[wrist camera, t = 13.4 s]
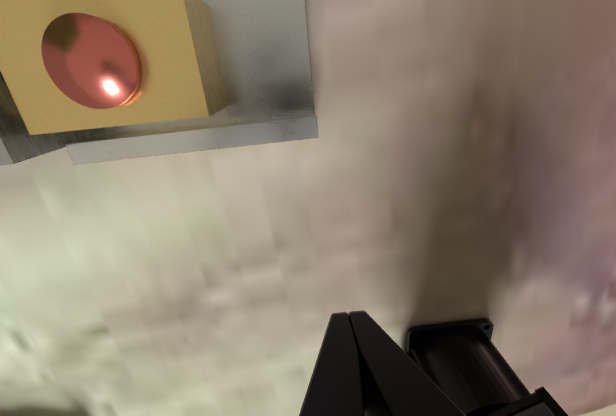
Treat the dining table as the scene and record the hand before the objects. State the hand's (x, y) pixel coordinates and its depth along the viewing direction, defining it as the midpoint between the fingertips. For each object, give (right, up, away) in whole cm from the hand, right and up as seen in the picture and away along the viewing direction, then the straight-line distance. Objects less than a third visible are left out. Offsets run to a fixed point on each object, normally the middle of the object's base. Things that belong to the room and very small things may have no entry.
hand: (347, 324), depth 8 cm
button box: (-9, +10, +7) cm, 15 cm away
